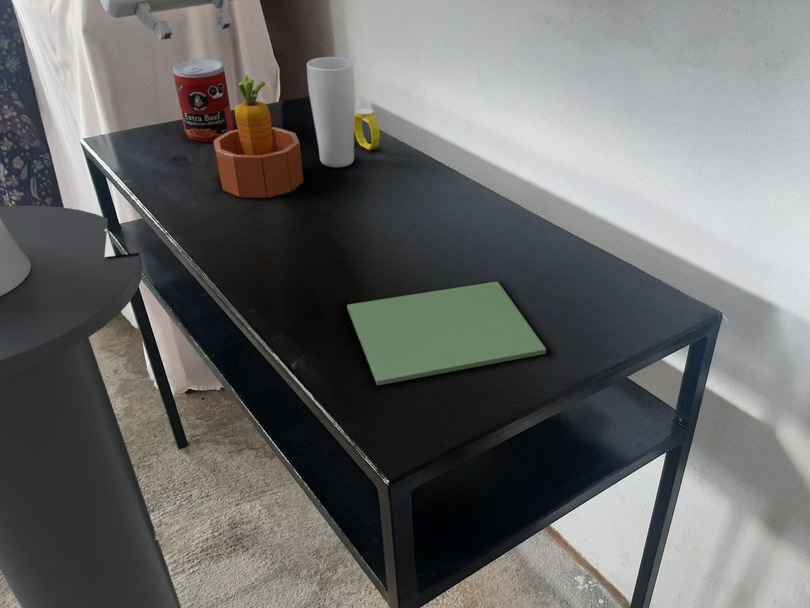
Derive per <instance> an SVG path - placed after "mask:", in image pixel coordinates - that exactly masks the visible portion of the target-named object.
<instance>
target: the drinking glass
mask: <svg viewBox="0 0 810 608" xmlns="http://www.w3.org/2000/svg"><path fill="white" fill-rule="evenodd" d="M306 62H307V63H306V76H307V77H306V78H307V88H308V94H309V101H310V102H309V103H310V107H311V112H312V119H313V123H314V124H313V125H314V129H315V130H314V131H315V136H316V141H317V147H318V155H319V161H320V163H321V164H322V165H323V166H325V167H328V168H336V169H337V168H338V169H339V168H345V167H348V166H350V165H352V164H353V163H354V161H355V132H354V131H355V130H354V119H355V115H356V110H355V109H356V81H355V70H354V69H355V68H354V63H353V62H352V60H351V59H347V58H344V57H338V56H323V57H322V56H321V57H315V58H313V59H310V60H308V61H306Z"/></svg>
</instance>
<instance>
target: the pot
mask: <svg viewBox="0 0 810 608" xmlns="http://www.w3.org/2000/svg"><path fill="white" fill-rule="evenodd" d="M272 139H273V144H272V153H269V154H264V155H245V153H244V150H243V147H242V144H241V140H240V136H239V132H238V129H233V131H228V132H226V133H225V134H223V135H221V136H220V137H218V138H216V139H215V140H214V141H213V146H214V152H215V157H216V158H215V159H216V163H217V168H218V173H219V174H218V175H219V180H220V186H221V190H222V191H224V192H227V193H229V194H231V195H234V196H236V197H239V198H255V199H256V198H259V199H263V198H264V199H267V198H272V197H276V196H280V195H284V194H289V193H291V192H293V191H295V189H296V188H298V187H299V186H301V185H302V184H303V182H304V173H303V165H302V164H303V162H302V154H301V144H300V140H299V138H298V136H297V134H296V132H292V131H289V130H287V129H283V128H280V127H276V126H274V127H273V126H272Z"/></svg>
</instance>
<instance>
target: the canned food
mask: <svg viewBox="0 0 810 608" xmlns="http://www.w3.org/2000/svg"><path fill="white" fill-rule="evenodd" d="M172 74H173V78H174V83H175V89H176V94H177V99H178V103H179V108H180V113H181V119H182V123H183V128H184V133H186V136H187V137H188V138H189V139H190V140H192V141H195V142H199V143H211V142H212V143H214V140H215V139H216V138H218V137H220V136H221V135H223V134H225V133H226V132H228V131H233V130H234V122H233V117H232V110H231V103H230V97H229V96H230V95H229V90H228V85H227V77H226V72H225V67H224V64H223V62H221V61H218V60H215V59H207V58H205V59H204V58H198V59H197V58H196V59H189V60H183V61H181V62H178V63H176V64H175V65H173V67H172Z"/></svg>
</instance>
